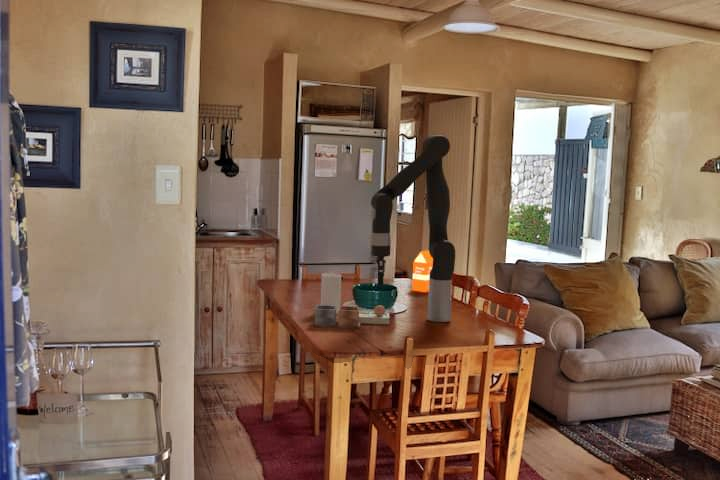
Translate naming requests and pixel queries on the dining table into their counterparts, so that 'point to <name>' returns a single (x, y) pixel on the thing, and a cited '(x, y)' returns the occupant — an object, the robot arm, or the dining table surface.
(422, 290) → the orange juice
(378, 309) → the ball terracotta
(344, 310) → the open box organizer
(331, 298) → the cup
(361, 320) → the pocket board
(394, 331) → the dining table surface
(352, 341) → the dining table surface
